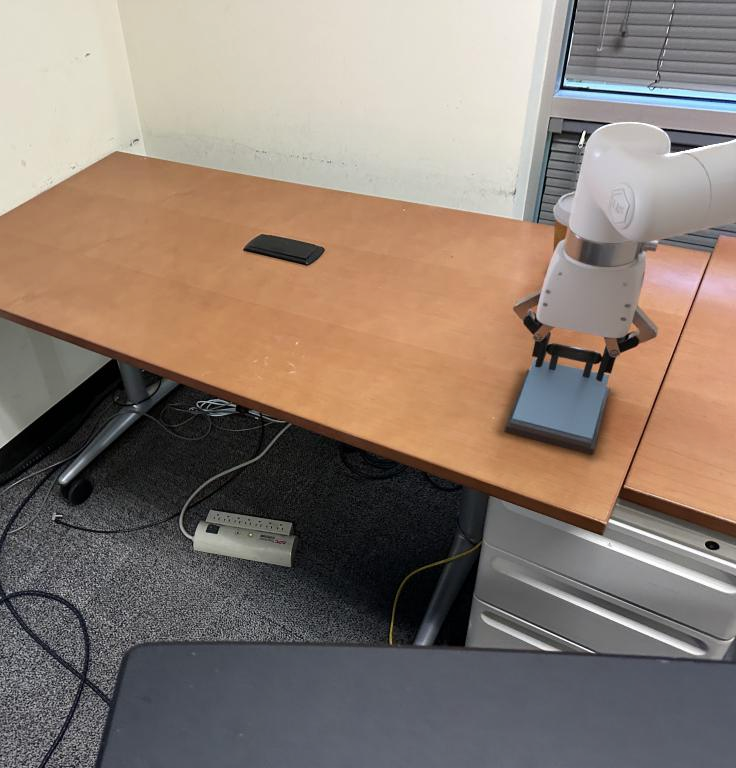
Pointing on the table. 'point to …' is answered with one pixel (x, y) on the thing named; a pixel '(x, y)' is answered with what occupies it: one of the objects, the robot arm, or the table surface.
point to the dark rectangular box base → (554, 436)
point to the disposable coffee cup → (562, 217)
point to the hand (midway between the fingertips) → (570, 366)
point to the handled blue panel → (563, 393)
